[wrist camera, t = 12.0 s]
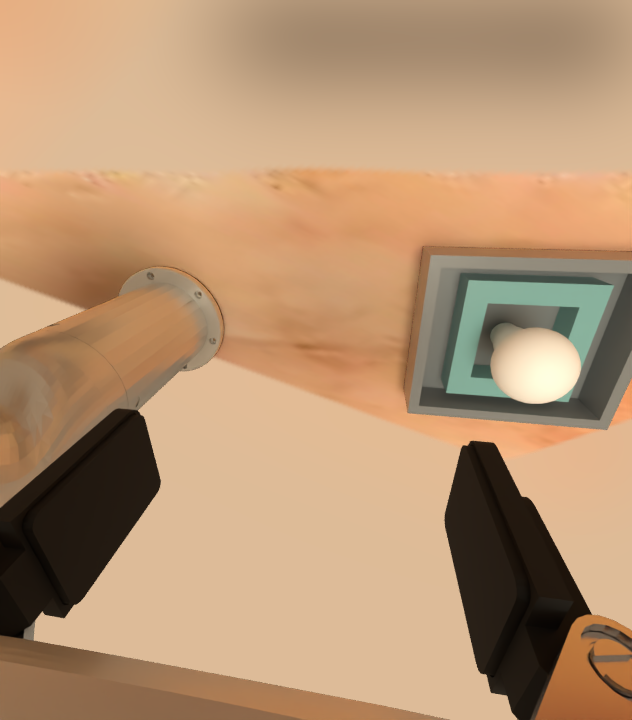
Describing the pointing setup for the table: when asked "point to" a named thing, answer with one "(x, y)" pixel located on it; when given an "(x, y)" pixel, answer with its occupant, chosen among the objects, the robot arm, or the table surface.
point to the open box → (525, 310)
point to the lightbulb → (533, 363)
